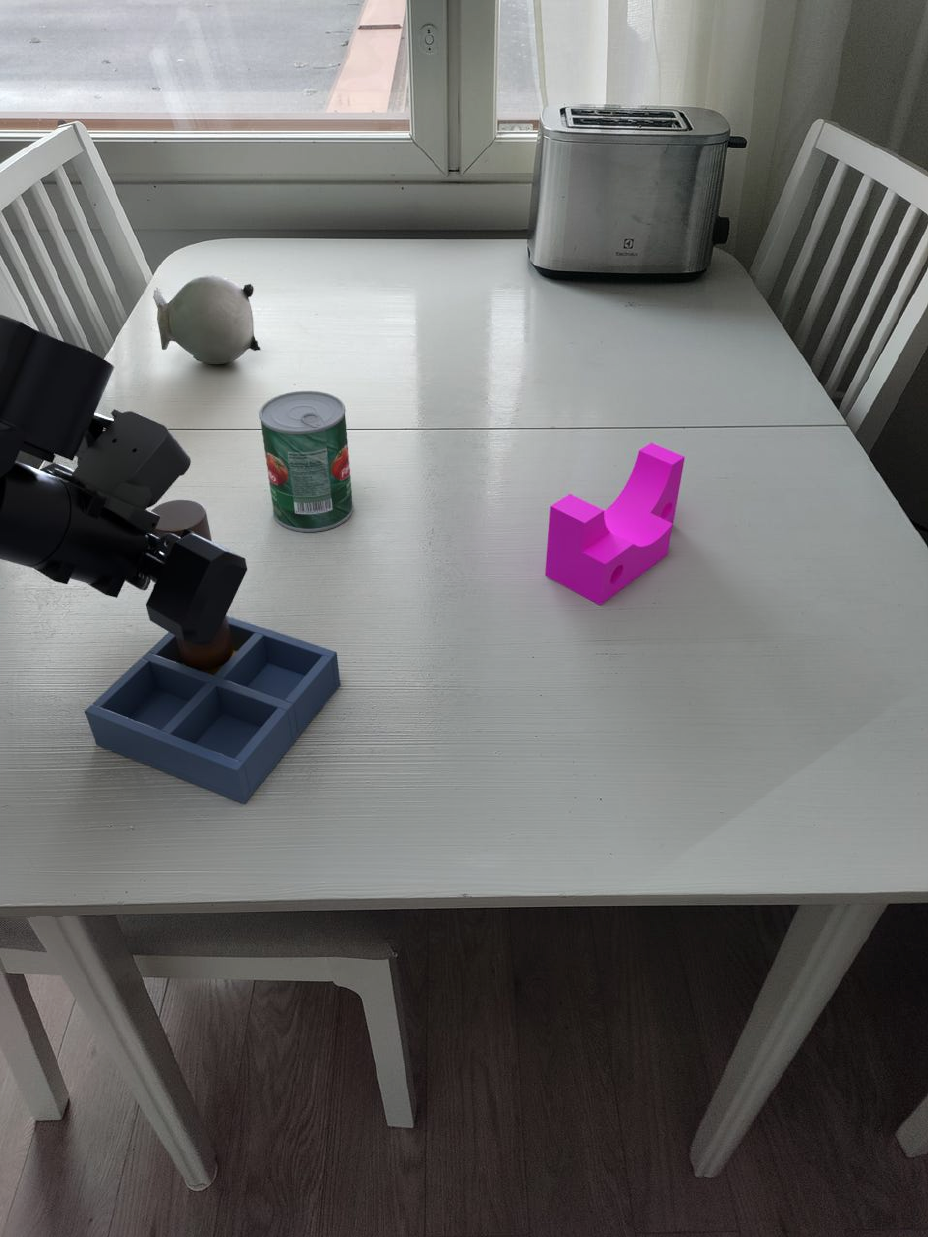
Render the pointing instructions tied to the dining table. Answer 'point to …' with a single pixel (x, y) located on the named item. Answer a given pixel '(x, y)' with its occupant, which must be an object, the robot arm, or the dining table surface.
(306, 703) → the grid
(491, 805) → the dining table surface
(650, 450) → the toy block
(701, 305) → the dining table surface
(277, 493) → the canned tomato
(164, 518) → the brown wooden dowel
